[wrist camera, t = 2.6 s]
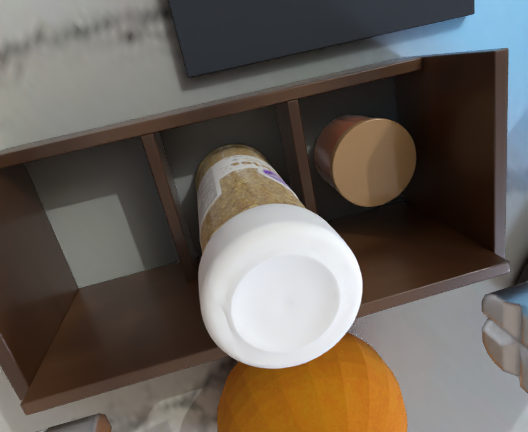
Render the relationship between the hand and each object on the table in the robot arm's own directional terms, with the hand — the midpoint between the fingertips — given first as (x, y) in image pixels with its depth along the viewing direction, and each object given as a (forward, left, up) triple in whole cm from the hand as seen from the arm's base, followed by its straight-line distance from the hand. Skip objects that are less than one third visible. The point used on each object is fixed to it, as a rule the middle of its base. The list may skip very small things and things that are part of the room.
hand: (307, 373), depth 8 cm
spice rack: (0, 0, -16) cm, 16 cm away
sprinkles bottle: (0, 0, -16) cm, 16 cm away
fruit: (-1, +15, -16) cm, 22 cm away
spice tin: (-7, 0, -16) cm, 17 cm away
